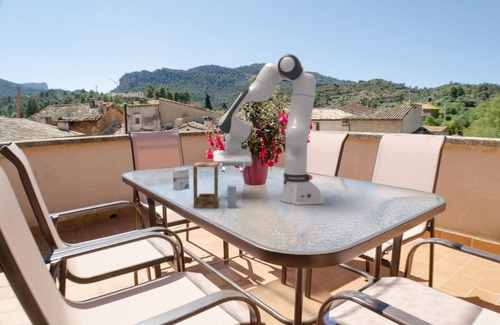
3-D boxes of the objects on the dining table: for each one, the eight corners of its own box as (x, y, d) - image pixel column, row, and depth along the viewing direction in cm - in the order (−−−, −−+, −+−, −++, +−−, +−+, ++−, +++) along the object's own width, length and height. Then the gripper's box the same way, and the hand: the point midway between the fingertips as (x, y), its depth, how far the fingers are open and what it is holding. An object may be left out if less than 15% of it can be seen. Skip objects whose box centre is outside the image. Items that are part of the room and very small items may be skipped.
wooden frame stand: (219, 200, 152) (219, 161, 149) (217, 207, 138) (217, 165, 135) (197, 200, 151) (197, 161, 149) (193, 207, 137) (193, 164, 135)
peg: (236, 205, 143) (236, 184, 141) (236, 207, 139) (236, 186, 137) (227, 205, 142) (227, 184, 141) (227, 207, 138) (227, 186, 137)
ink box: (183, 186, 183) (183, 167, 181) (189, 188, 180) (189, 168, 178) (172, 189, 176) (172, 169, 174) (178, 190, 173) (178, 170, 172)
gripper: (213, 146, 156) (211, 167, 147) (252, 146, 157) (252, 168, 148) (213, 154, 161) (212, 174, 152) (251, 154, 162) (252, 175, 153)
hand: (232, 171), depth 150 cm, fingers open, 8 cm apart
